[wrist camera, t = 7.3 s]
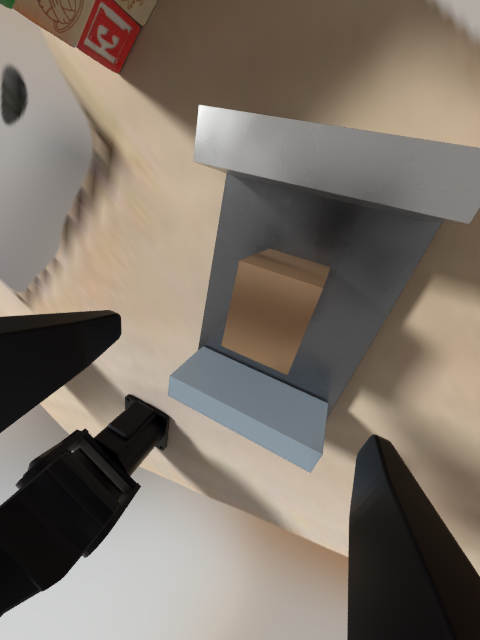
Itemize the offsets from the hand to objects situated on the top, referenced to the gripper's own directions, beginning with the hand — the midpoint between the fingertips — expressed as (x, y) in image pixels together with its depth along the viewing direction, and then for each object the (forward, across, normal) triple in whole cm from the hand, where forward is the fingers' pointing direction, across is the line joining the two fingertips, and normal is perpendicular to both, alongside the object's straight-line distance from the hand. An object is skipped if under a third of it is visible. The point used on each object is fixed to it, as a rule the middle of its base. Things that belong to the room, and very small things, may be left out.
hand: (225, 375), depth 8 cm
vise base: (+11, 0, +1) cm, 11 cm away
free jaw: (+10, 0, +8) cm, 12 cm away
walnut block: (+10, 0, 0) cm, 10 cm away
